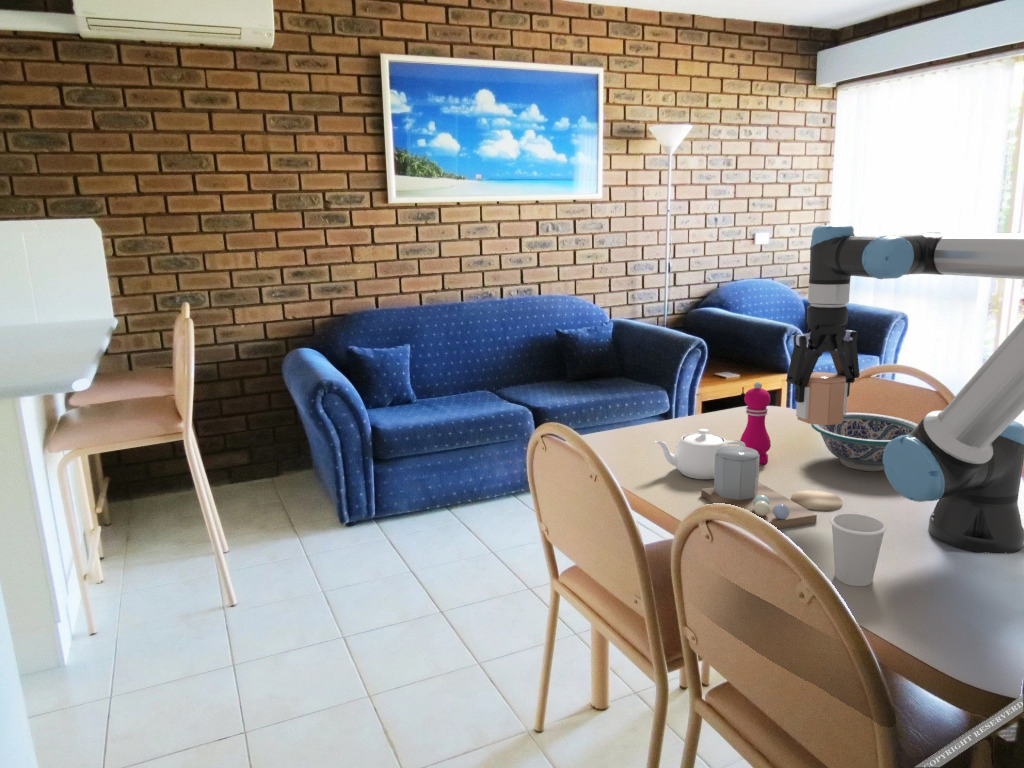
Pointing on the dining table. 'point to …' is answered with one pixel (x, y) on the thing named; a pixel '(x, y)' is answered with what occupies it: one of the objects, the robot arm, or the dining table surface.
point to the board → (796, 512)
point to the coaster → (817, 500)
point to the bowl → (863, 438)
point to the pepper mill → (757, 422)
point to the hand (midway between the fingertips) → (821, 414)
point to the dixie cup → (856, 547)
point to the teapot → (697, 453)
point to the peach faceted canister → (826, 398)
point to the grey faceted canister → (736, 472)
